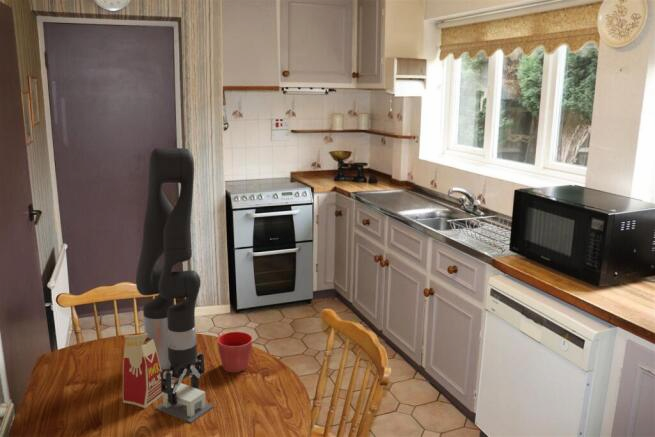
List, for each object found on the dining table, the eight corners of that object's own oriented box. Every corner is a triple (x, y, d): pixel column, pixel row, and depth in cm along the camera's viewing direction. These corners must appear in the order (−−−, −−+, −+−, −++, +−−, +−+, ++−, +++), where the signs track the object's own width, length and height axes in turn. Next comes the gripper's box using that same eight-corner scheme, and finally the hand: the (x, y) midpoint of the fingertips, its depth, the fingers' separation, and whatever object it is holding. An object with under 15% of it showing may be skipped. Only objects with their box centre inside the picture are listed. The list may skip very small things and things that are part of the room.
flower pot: (246, 377, 176) (245, 347, 174) (212, 372, 178) (211, 343, 176) (257, 361, 186) (257, 333, 184) (225, 357, 188) (224, 329, 186)
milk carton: (166, 392, 166) (163, 328, 162) (146, 408, 158) (142, 341, 153) (139, 386, 169) (135, 323, 165) (118, 402, 161) (114, 336, 156)
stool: (162, 391, 157) (190, 401, 152) (178, 382, 162) (205, 391, 158) (163, 406, 158) (190, 417, 154) (178, 396, 163) (205, 406, 159)
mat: (155, 408, 158) (155, 407, 158) (178, 394, 165) (178, 392, 165) (191, 423, 152) (191, 421, 151) (213, 407, 159) (213, 405, 159)
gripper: (173, 356, 146) (175, 413, 150) (210, 336, 158) (212, 389, 162) (152, 349, 150) (154, 405, 153) (190, 329, 162) (191, 382, 166)
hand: (184, 396), depth 158 cm, fingers open, 8 cm apart
